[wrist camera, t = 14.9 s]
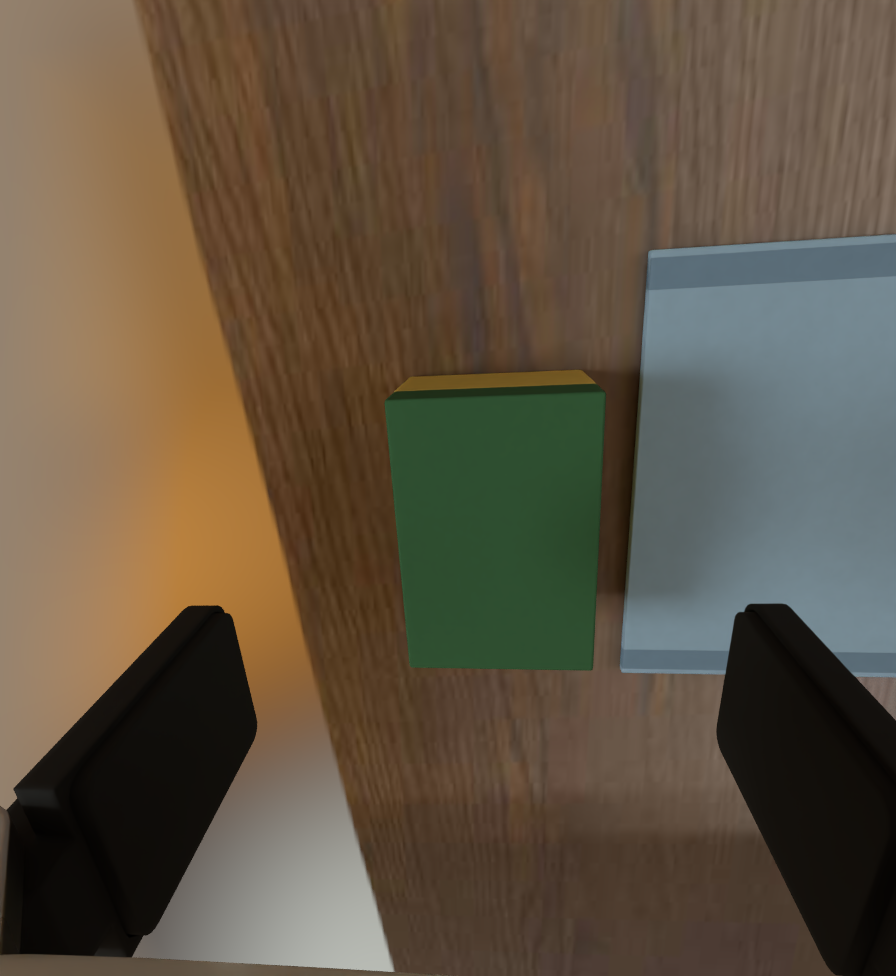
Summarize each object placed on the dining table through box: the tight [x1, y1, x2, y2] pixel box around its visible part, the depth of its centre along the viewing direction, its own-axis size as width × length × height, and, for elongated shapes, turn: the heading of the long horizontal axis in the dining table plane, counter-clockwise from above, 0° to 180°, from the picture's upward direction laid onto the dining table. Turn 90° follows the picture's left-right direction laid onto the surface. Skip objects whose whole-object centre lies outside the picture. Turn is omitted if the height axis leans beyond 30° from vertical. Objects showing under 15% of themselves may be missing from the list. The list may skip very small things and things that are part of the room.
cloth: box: [620, 234, 896, 677], centre depth 19 cm, size 12×16×1 cm
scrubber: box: [385, 370, 606, 670], centre depth 18 cm, size 9×6×4 cm, turn 3°
